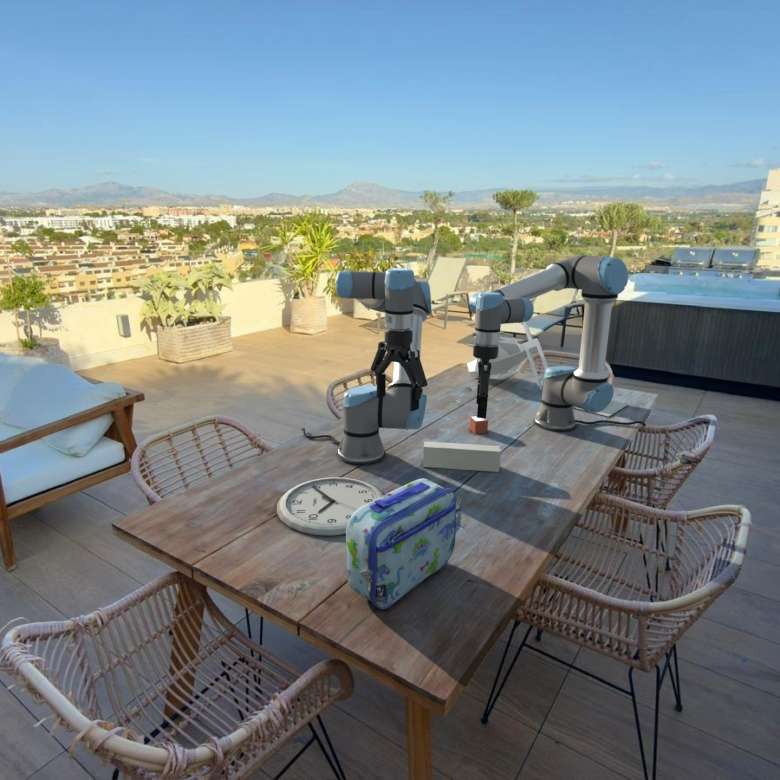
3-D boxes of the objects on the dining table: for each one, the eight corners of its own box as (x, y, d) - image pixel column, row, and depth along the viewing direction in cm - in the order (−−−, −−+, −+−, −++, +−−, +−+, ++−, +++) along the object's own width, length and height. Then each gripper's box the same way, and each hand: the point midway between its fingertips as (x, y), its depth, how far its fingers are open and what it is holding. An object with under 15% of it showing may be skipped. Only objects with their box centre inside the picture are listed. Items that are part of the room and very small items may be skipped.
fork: (437, 530, 132) (438, 523, 131) (452, 500, 146) (452, 494, 145) (447, 532, 131) (448, 525, 130) (461, 502, 145) (462, 496, 144)
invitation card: (608, 416, 214) (573, 407, 224) (608, 416, 214) (573, 407, 224) (627, 404, 229) (594, 396, 238) (627, 405, 229) (594, 397, 239)
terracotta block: (482, 428, 200) (482, 415, 198) (487, 432, 195) (488, 420, 194) (469, 429, 199) (470, 416, 197) (474, 433, 194) (475, 421, 193)
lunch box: (375, 622, 100) (376, 527, 94) (339, 595, 108) (338, 505, 101) (459, 565, 118) (465, 481, 112) (424, 545, 125) (427, 465, 119)
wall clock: (392, 527, 129) (269, 531, 127) (392, 533, 130) (269, 537, 127) (383, 473, 158) (282, 475, 155) (383, 478, 158) (283, 480, 156)
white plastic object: (488, 419, 266) (468, 396, 241) (469, 346, 288) (449, 319, 263) (559, 395, 254) (545, 368, 229) (533, 321, 276) (519, 290, 251)
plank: (498, 465, 168) (499, 445, 166) (499, 472, 164) (500, 451, 162) (423, 461, 171) (424, 441, 169) (422, 466, 167) (423, 446, 165)
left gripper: (358, 322, 145) (358, 394, 152) (422, 339, 128) (419, 419, 135) (378, 319, 150) (378, 388, 157) (443, 334, 133) (439, 412, 140)
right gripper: (473, 336, 171) (468, 397, 177) (474, 352, 147) (468, 423, 153) (496, 337, 170) (491, 399, 176) (501, 354, 146) (494, 425, 152)
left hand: (397, 403), depth 146 cm, fingers open, 13 cm apart
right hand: (480, 410), depth 165 cm, fingers open, 13 cm apart
